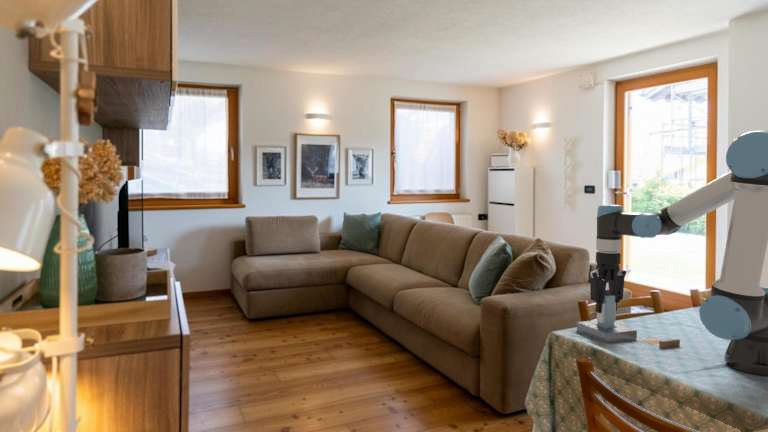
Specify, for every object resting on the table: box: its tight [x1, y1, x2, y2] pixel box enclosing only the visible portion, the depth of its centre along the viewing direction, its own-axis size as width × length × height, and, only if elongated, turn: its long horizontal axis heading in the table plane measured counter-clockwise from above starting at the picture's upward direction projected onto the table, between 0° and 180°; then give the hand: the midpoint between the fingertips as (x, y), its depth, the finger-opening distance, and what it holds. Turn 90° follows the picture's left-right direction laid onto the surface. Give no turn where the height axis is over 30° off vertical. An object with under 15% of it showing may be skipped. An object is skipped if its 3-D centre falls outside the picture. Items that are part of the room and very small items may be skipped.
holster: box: [639, 337, 681, 349], centre depth 163 cm, size 9×7×3 cm
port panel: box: [576, 319, 638, 344], centre depth 171 cm, size 14×12×4 cm
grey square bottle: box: [597, 289, 615, 329], centre depth 171 cm, size 4×4×14 cm
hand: (605, 321), depth 171 cm, fingers closed on grey square bottle, 4 cm apart
